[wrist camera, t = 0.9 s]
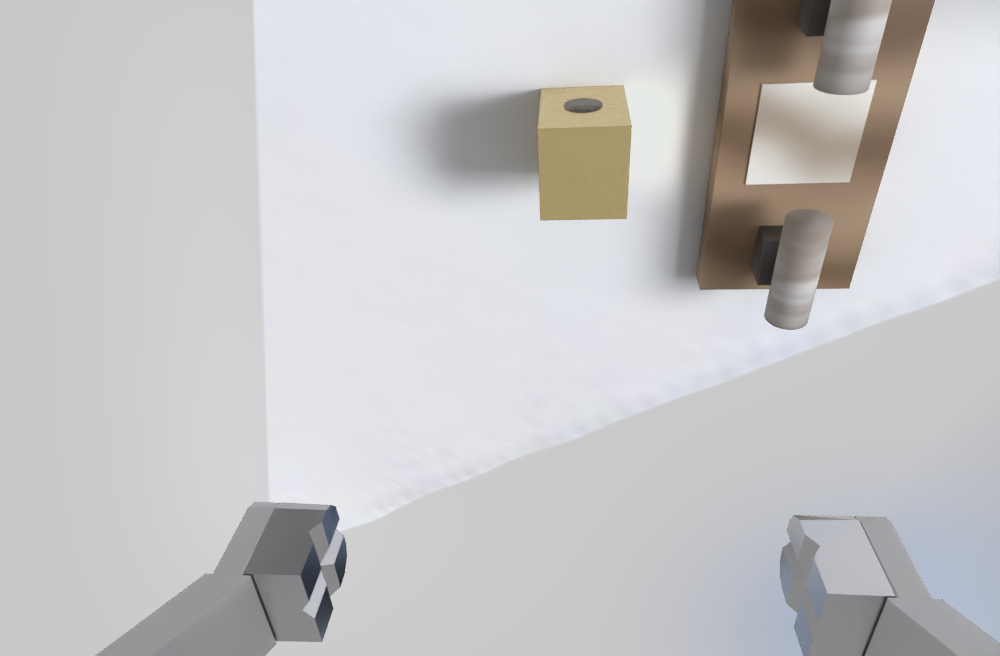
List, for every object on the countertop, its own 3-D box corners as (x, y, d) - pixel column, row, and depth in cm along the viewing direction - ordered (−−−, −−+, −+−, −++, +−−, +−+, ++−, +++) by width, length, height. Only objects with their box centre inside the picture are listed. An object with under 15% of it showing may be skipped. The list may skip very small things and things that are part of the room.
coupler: (541, 87, 37) (537, 127, 33) (623, 84, 37) (631, 124, 32) (543, 173, 40) (540, 221, 36) (619, 171, 40) (626, 219, 35)
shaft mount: (743, -80, 32) (772, -62, 27) (946, -93, 31) (1010, -76, 26) (696, 276, 44) (711, 329, 39) (841, 275, 43) (873, 329, 38)
